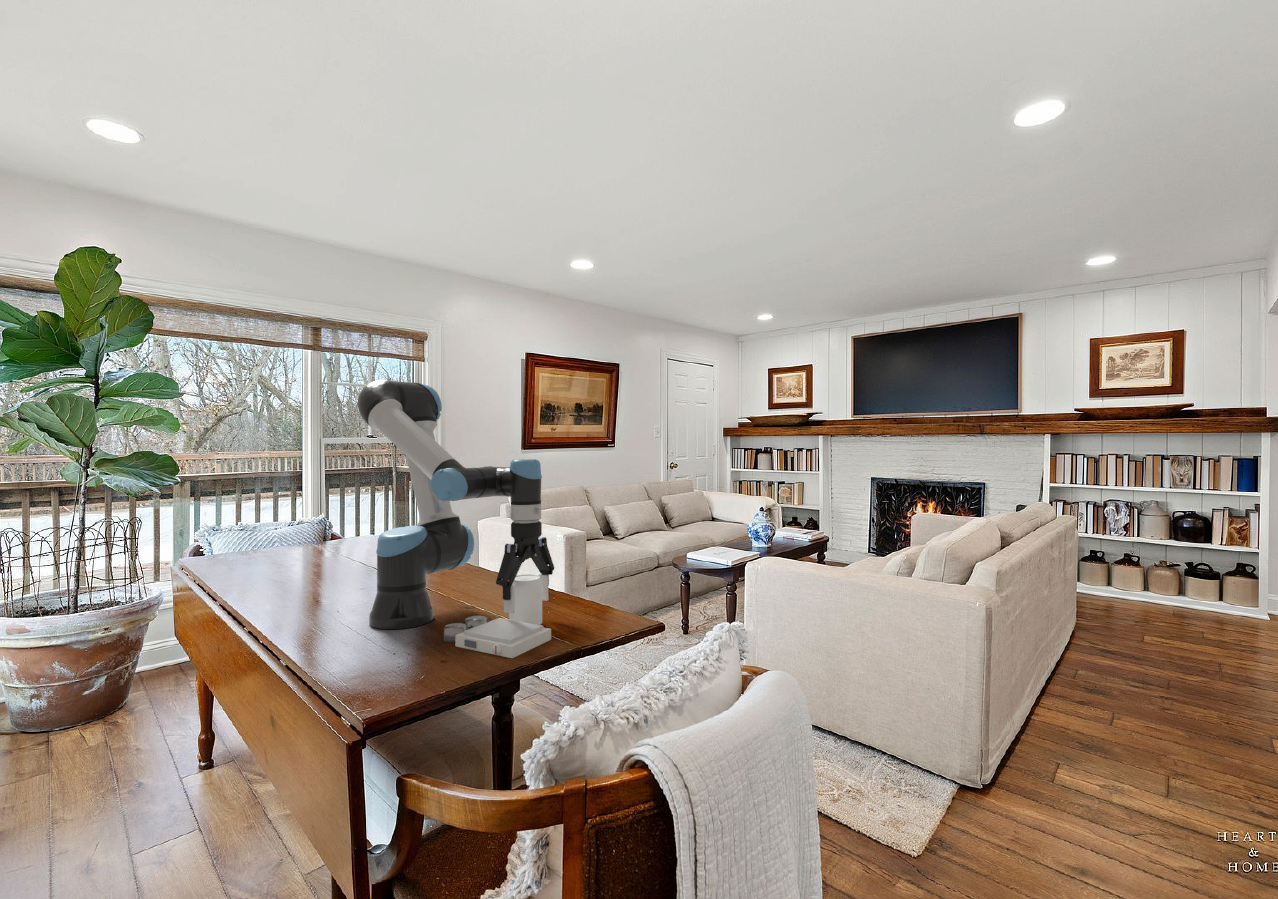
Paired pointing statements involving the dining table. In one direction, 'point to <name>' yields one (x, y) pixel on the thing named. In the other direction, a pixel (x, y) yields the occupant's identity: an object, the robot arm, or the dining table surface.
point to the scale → (503, 637)
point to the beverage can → (528, 599)
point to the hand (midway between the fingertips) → (527, 606)
